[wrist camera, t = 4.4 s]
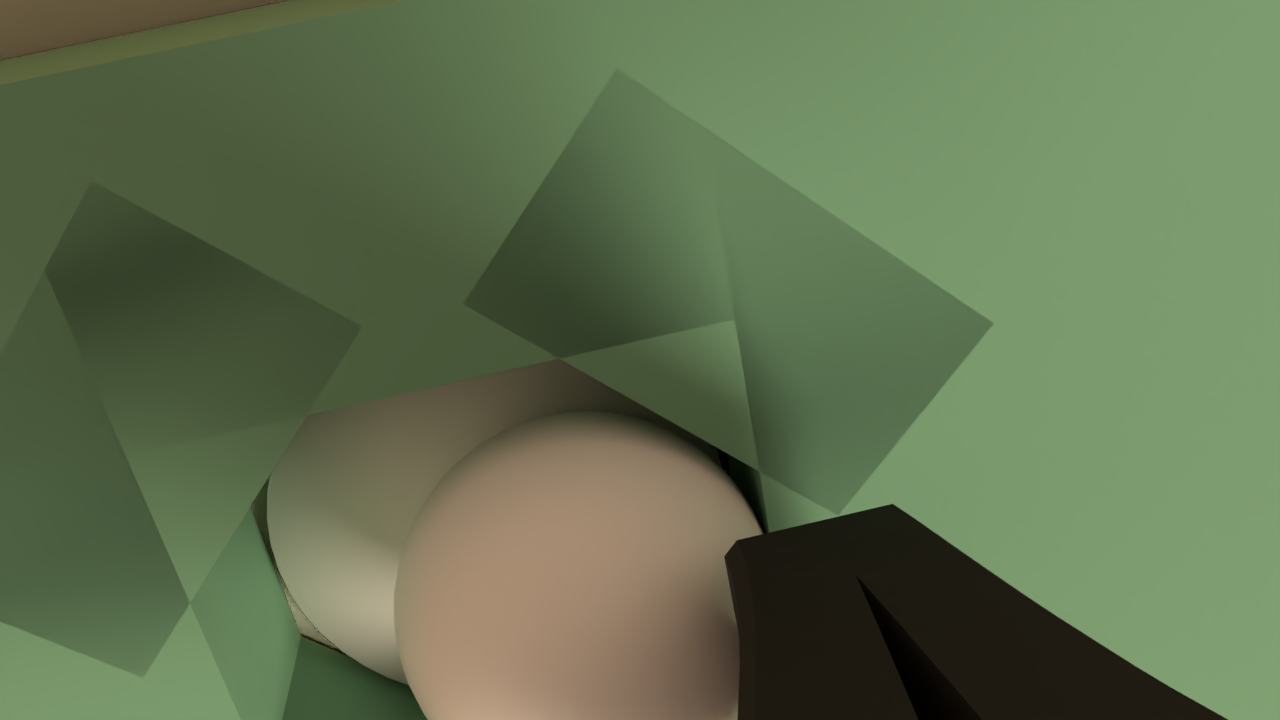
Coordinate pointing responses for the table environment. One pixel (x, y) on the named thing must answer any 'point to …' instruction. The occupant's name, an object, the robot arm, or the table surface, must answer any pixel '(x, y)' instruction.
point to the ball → (574, 578)
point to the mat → (631, 312)
